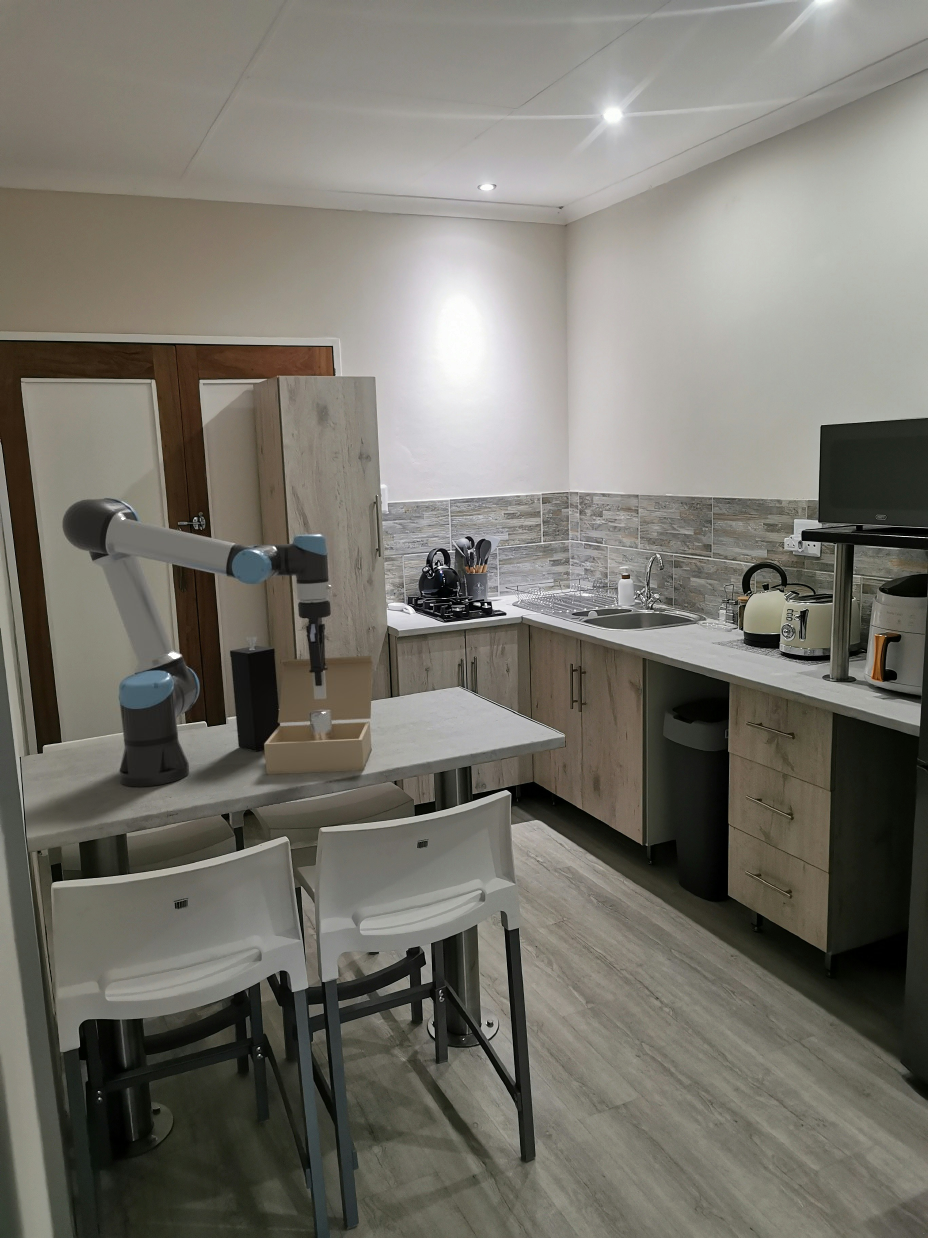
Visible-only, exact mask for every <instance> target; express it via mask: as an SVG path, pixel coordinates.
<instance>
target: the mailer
mask: <svg viewBox="0 0 928 1238" xmlns="http://www.w3.org/2000/svg"><path fill="white" fill-rule="evenodd" d="M332 735H333V740H323V741H311V727H310V723H309V724H292V725H291V724H290V725H289V724H288V725H280V726H279V727H278V728H277V729H276V730H275V731H274V733H273V734H272V735H271V736H270V738H269V739H268V740H267V741H266V742H265V744H264V749H263V750H264V759H265V769H266V775H277V774H278V775H279V774H280V775H281V774H300V773H303V774H304V773H319V772H320V773H321V772H323V773H325V772H343V771H345V772H346V771H349V772H350V771H364V770H365V768H366V766H367V763H368V761H369V758H370V755H371V752H372V750H373V749H372V736H371V735H372V733H371V722H370V721H360V722H359V721H358V722H357V721H355V722H334V723H333V722H332Z"/></svg>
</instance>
